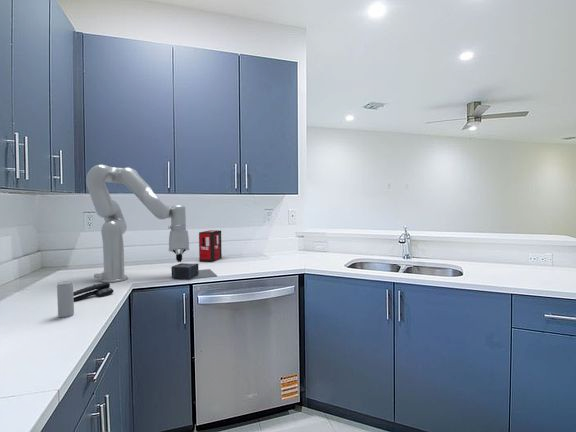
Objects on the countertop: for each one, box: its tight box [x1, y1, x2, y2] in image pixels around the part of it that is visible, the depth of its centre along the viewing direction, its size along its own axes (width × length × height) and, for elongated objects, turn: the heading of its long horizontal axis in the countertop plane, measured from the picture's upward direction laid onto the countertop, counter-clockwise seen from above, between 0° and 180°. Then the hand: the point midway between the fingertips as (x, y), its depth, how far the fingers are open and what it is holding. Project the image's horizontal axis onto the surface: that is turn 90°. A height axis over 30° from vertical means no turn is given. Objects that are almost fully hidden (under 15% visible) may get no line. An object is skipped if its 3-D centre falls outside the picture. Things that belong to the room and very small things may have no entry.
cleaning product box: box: [198, 229, 223, 264], centre depth 234 cm, size 16×9×20 cm, turn 168°
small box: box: [171, 262, 200, 280], centre depth 182 cm, size 11×6×10 cm
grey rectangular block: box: [56, 280, 75, 318], centre depth 121 cm, size 5×5×12 cm
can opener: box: [73, 282, 114, 303], centre depth 145 cm, size 18×7×6 cm, turn 144°
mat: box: [181, 268, 218, 281], centre depth 189 cm, size 18×20×1 cm
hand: (179, 261), depth 185 cm, fingers closed
